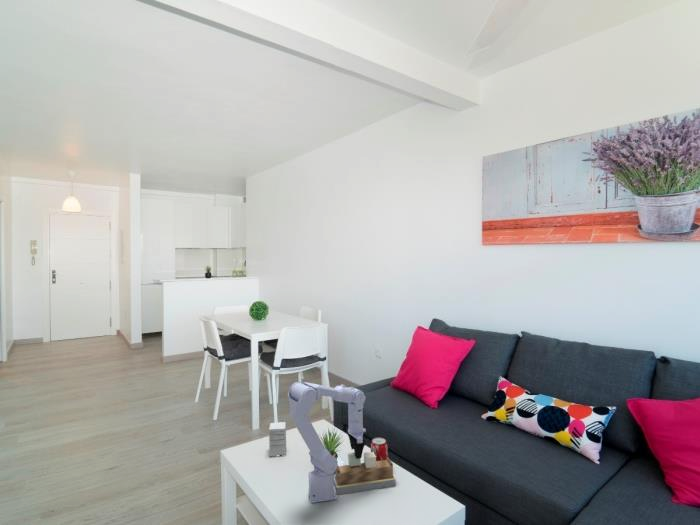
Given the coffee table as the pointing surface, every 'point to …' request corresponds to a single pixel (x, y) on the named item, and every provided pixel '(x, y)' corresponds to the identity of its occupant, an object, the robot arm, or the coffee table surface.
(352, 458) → the block
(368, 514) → the coffee table surface
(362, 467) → the brown wooden long block
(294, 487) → the coffee table surface
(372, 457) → the cream cube
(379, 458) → the soda can
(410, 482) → the coffee table surface
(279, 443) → the supplement box
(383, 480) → the dock
